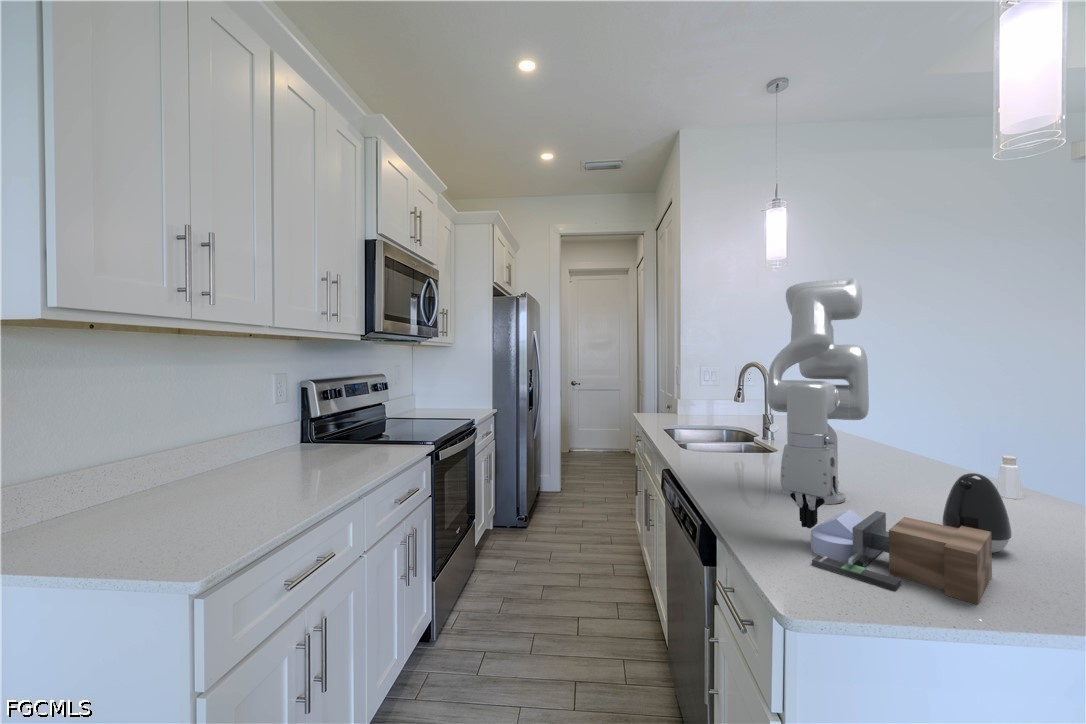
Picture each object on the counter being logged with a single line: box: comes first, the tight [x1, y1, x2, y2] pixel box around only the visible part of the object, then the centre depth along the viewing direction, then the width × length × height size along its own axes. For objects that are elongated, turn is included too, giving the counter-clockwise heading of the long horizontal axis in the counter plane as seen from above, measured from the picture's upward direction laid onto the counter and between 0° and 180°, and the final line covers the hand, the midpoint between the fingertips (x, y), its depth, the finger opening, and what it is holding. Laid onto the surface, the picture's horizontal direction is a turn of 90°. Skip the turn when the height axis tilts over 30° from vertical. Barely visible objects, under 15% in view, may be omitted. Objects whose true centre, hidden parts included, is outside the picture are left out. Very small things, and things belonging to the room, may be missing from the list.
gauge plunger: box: [847, 510, 889, 568], centre depth 85 cm, size 18×10×7 cm, turn 129°
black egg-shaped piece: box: [942, 472, 1013, 554], centre depth 93 cm, size 10×10×15 cm
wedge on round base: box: [810, 509, 864, 563], centre depth 94 cm, size 9×7×13 cm
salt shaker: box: [996, 455, 1024, 500], centre depth 125 cm, size 5×5×11 cm
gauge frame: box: [811, 517, 993, 605], centre depth 84 cm, size 18×22×8 cm
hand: (808, 526), depth 98 cm, fingers closed
